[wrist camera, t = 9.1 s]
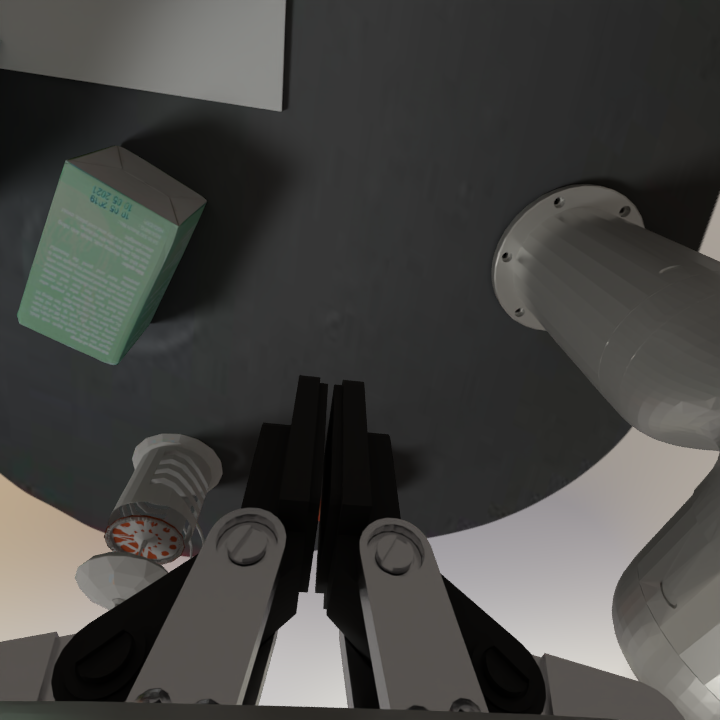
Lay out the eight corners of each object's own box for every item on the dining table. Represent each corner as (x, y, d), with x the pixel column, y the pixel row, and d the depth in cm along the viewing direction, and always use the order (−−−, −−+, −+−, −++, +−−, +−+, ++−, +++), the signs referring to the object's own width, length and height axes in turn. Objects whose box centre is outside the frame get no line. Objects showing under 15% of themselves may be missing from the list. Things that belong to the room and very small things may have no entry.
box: (65, 287, 37) (9, 327, 31) (116, 142, 32) (61, 154, 25) (149, 328, 40) (113, 373, 33) (210, 199, 34) (181, 224, 28)
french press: (182, 419, 45) (39, 710, 24) (250, 485, 51) (183, 770, 29) (112, 455, 47) (-74, 750, 26) (184, 515, 53) (79, 799, 32)
